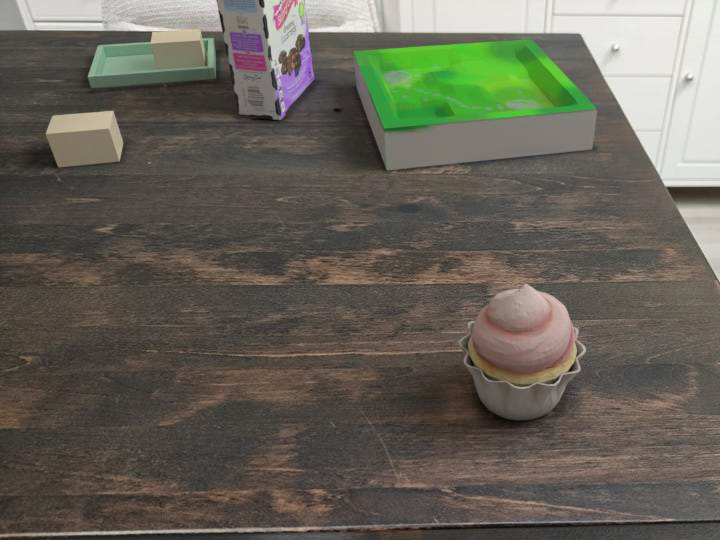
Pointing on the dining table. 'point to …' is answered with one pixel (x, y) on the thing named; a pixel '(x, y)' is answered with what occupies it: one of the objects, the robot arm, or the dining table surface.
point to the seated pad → (178, 49)
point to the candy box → (267, 54)
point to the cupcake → (522, 353)
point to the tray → (470, 103)
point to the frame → (143, 66)
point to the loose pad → (85, 138)
